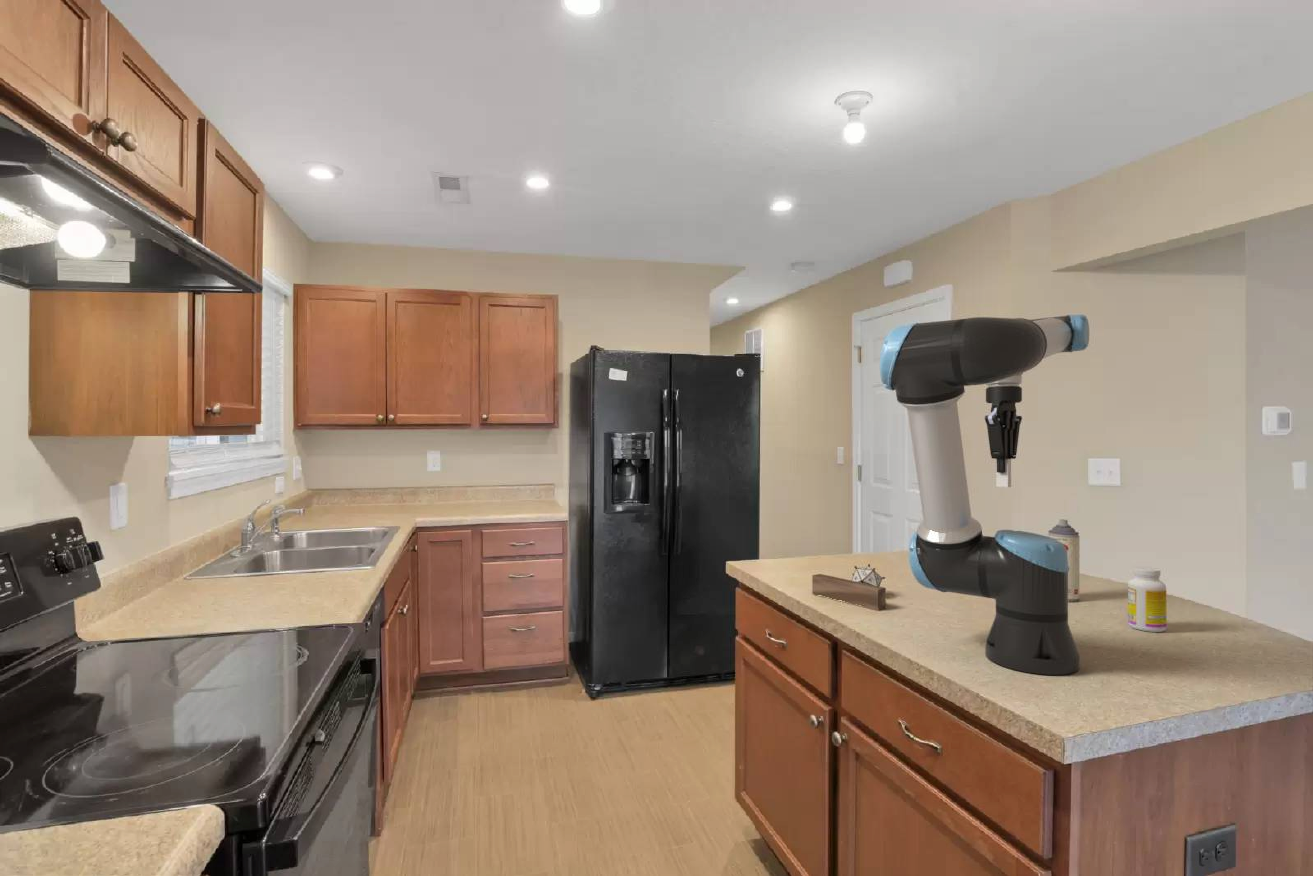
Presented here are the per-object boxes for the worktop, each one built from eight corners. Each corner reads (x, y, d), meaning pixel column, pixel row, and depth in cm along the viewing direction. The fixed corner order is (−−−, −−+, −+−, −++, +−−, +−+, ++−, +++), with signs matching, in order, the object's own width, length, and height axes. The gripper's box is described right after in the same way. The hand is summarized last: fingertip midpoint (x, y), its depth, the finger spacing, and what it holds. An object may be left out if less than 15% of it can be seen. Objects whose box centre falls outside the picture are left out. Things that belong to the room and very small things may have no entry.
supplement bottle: (1172, 630, 142) (1172, 569, 142) (1157, 635, 138) (1157, 573, 138) (1136, 622, 148) (1136, 564, 148) (1121, 627, 144) (1122, 567, 144)
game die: (873, 612, 170) (892, 586, 165) (842, 600, 171) (859, 573, 165) (872, 588, 178) (889, 562, 173) (842, 576, 178) (858, 550, 173)
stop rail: (877, 610, 158) (877, 589, 158) (812, 594, 174) (812, 575, 174) (885, 608, 160) (885, 587, 160) (820, 592, 176) (820, 573, 176)
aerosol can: (1041, 597, 170) (1041, 518, 170) (1060, 594, 173) (1060, 517, 173) (1066, 603, 164) (1067, 522, 164) (1085, 600, 167) (1085, 520, 166)
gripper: (1005, 384, 150) (1005, 489, 150) (1033, 386, 157) (1033, 486, 157) (973, 386, 156) (973, 487, 156) (1001, 388, 163) (1001, 484, 163)
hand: (1003, 486), depth 157 cm, fingers closed
